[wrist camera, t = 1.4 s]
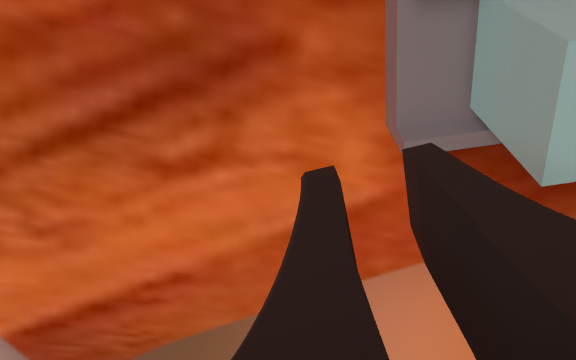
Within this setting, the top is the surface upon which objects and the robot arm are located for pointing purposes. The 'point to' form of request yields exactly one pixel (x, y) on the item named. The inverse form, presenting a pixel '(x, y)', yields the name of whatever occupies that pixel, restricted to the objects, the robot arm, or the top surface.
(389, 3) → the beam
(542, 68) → the rider
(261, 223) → the top surface
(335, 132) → the top surface
